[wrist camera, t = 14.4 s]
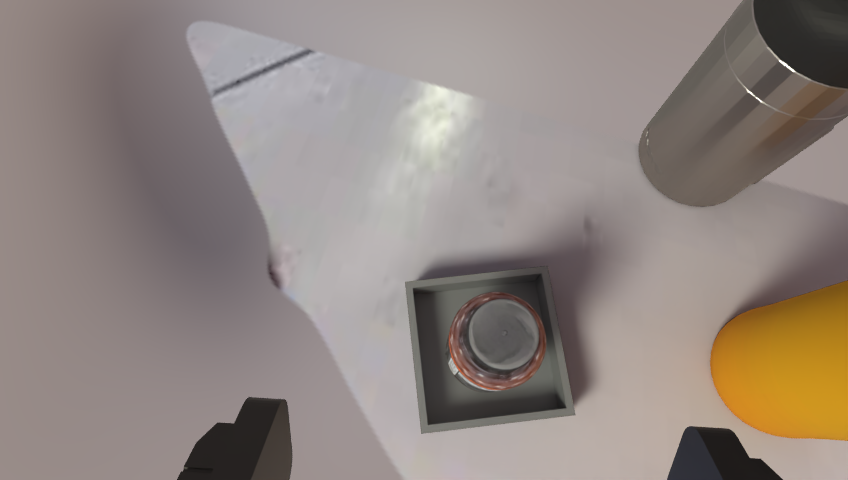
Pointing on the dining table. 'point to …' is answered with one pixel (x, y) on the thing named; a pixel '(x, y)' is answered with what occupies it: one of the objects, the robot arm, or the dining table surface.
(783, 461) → the dining table surface
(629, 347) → the dining table surface
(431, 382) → the tray
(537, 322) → the supplement bottle
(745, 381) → the yellow bottle
